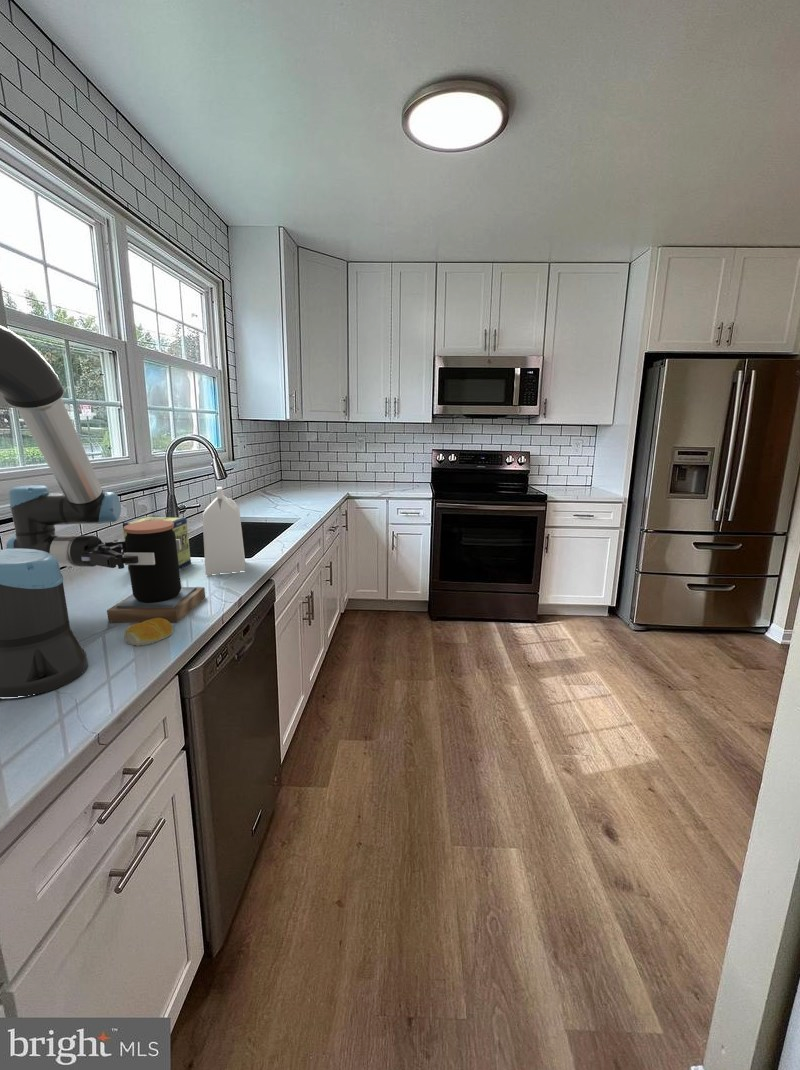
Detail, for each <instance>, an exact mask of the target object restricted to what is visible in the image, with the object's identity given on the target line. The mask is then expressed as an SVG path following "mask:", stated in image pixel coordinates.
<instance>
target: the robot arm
mask: <svg viewBox="0 0 800 1070" xmlns="http://www.w3.org/2000/svg"><path fill="white" fill-rule="evenodd" d="M0 394H1V395H2V397H3V399H4V400H5V402H6V403H7V405H9V406H10V407H13V408H15V409H17V411H18V413H19V414H20V416H21V418H22V420H23V421H24V423H25V426H26V427H27V429H28V431H29V433H30V435H31V437H32V438H33V440H34V442H35V444H36V446H37V448H38V449H39V451H40V453H41V455H42V456H43V458H44V460H45V461H46V464H47V465H48V468H49V469H50V471H51V473H52V475H53V477H54V479H55V480H56V482H57V484H58V486H59V488H60V489H61V492H62V493H51V492H50V490H49V488H48V487H47V486H46V485H42V484H41V485H40V484H39V485H38V484H37V485H34V484H33V485H32V484H31V485H20V486H14V487H12V488H10V489H9V491H8V496H9V508H10V511H11V516H12V521H13V526H14V530H15V535H14V536H12V537H11V538H9V539H8V540H7V542H6V544H5V545H6V548H5V549H0V697H18V696H28V695H33V694H38V695H40V694H39V693H42V694H44V693H43V692H45V693H48V692H50V691H53V690H57V689H58V688H60V687H63V686H66V685H68V684H69V683H72V682H73V681H75V680H77V679H78V678H79V677H80V676H81V674H82V673H83V674H84V673H85V672H86V670H87V669H88V666H89V663H88V658H87V652H86V651H85V650H84V648H83V647H82V645H81V644H80V642H79V641H78V638H77V637H76V635H75V634H74V632H73V630H72V628H71V624H70V618H69V612H68V606H67V601H66V599H67V598H66V592H65V587H64V576H63V574H62V572H61V568H60V567H67V569H72V568H73V567H82V568H84V567H86V568H88V567H89V568H90V567H96V566H98V567H99V566H100V567H105V568H110V569H115V568H116V567H117V569H119V570H121V569H125V565H126V566H128V565H154V564H155V557H154V553H127V550H126V543H125V539H118V538H116V539H114V540H113V541H111V540H109V541H102V540H101V538H100V537H98V536H97V535H77V534H75V535H73V534H71V535H70V534H69V535H67V534H66V535H65V534H64V535H60V534H59V535H56V527H55V526H61V525H62V526H64V525H65V526H66V525H91V524H93V525H94V524H95V525H96V524H98V525H101V524H109V523H114V522H115V523H116V522H117V521H118V520H119V519H120V517H121V512H122V505H121V500H120V497H119V496H118V494H116V493H115V492H112V491H109V492H108V491H104V489H103V488H102V486H101V483H100V481H99V479H98V477H97V475H96V473H95V470H94V468H93V466H92V463H91V461H90V459H89V457H88V454H87V453H86V449H85V448H84V445H83V443H82V442H81V440H80V439H81V438H80V437H79V435H78V433H77V431H76V427H75V426H74V423H73V422H72V419H71V416H70V414H69V413H68V410H67V408H66V406H65V403H64V401H63V397H64V395H65V389H64V387H63V385H62V382H61V380H60V379H59V377H58V374H57V373H56V372H55V369H54V368H53V367H52V366H51V365H50V363H49V362H48V361H47V360H46V358H44V356H43V355H42V354H41V353H40V352H39V351H38V350H37V349H36V348H35V347H33V346H32V345H31V344H30V343H29V342H28V341H26V339H24V338H23V337H21V336H20V335H18V334H17V333H15V332H13V331H12V330H10V329H8V328H7V327H5V326H2V325H0ZM176 545H177V550H181V542H180V539H176ZM84 671H85V672H84ZM83 674H82V675H83ZM77 677H78V678H77Z"/></svg>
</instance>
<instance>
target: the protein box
mask: <svg viewBox="0 0 800 1070" xmlns="http://www.w3.org/2000/svg"><path fill="white" fill-rule="evenodd" d="M152 520H166V521H172V522H173V523H174V527H173V529H172V530H173V531H174V532H175V536H176V539H180V542H181V550H177V554H178V563H179V570H181V569H183V568H185V567H186V566H188V565H190V564H192V562H191V561H192V560H191V551H190V542H189V541H190V540H189V531H188V529H189V528H188V521H187V520H188V519H187V517H162V516H160V517H158V516H157V517H156V516H155V517H153V516H143V517H142V516H141V517H139V518H136V519H132V520H129V521H125V522H123V523H122V531H123V540H125V537H126V535H127V533H126V532H125V531H124V526H126V525H128V524H132V523H136V522H142V521H152ZM127 570H128V571H129V565H127ZM129 572H130V571H129Z"/></svg>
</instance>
